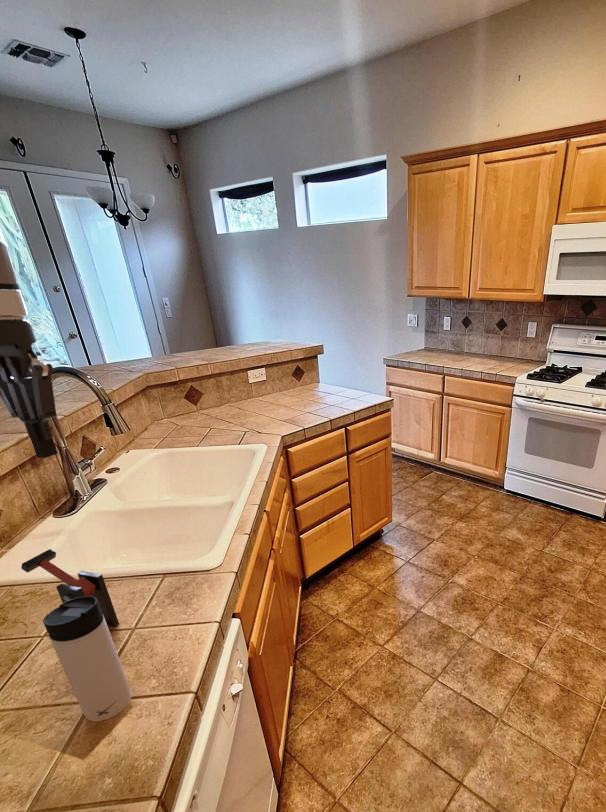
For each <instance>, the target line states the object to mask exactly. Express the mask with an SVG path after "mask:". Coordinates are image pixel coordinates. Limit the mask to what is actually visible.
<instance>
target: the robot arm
mask: <svg viewBox="0 0 606 812" xmlns="http://www.w3.org/2000/svg"><path fill="white" fill-rule="evenodd" d="M8 247H9V245H8V243H7V242H6V241H5V237H4V235H3V233H2V230H1V229H0V398H1V400H2V401H3V403H4V405H5V407H6V410H7V411H8V413H9V414H10V416H11V417H12V418H18V419H19V420H20V422H22V423H23V424H24V427H25V431H26V433H27V436H28V437H29V439H30V442H31V444H32V447H33V450H34V453H35V455H36V458H38V459H39V458H40V459H45V458H49V457H52V456H56V455H58V454H59V453H58V450H57V447H56V444H55V441H54V435H53V432H52V429H51V426H50V423H49V421H50V420H51V419H54V418H56V417H57V410H56V401H55V394H54V388H53V380H52V374H53V370H54V367H53V365H52V363H44V362H43V361H41V360H40V359H39V358H38V355H37V353H36V352H35V350H34V348H33V344H36V342H37V337H36V334H35V331H34V328H33V325H32V322H31V321H29V320H28V319H25V317H27V316H28V315H29V313H28V310H27V307H26V304H25V302H24V298H23V295H22V292H21V288H20V285H19V282H18V279H17V276H16V272H15V268H14V265H13V262H12V259H11V256H10V252H9V249H8Z"/></svg>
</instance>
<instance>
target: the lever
mask: <svg viewBox="0 0 606 812" xmlns="http://www.w3.org/2000/svg"><path fill="white" fill-rule="evenodd" d="M56 556H57V552H56V551H55V550H53V549H51V548H49V549H46V550H45V551H43V552H41V553H38V555H35V556H34V557H32V558H30V559H28V560H26V561H24V562H22V563H21V568H20V569H21V570H22V571H24V572H26V573H30V572H31V571H34V570H36V569H38V568H39V567H40V568H41V569H43V570H44V571H46V572H48V573H49V574H50V575H52V576H54V577H55V578H57V579H58V580H60V581H61V582H63V584H65V585H70V586H75V587H80V588H82V590H83V593H84V596H91V595H92V594H94V590H95V586H96V585H94V584H93V583H91V582H90V581H88V580H87V579H85V578H84V577H81V578H80V579H79V578H78V579H76V577H74V576H72V575H71V574H69V573H67V572H66V571H65V570H63V569H62V568H60V567H58V566H57V565H55V564H53V563H52V562H51V560H54V559H55V558H56Z"/></svg>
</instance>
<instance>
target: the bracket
mask: <svg viewBox="0 0 606 812" xmlns="http://www.w3.org/2000/svg"><path fill="white" fill-rule="evenodd" d="M77 576H78V579H80V578H81V577H84V578H85V579H87V580H88V581H90V582H91V583H93V584H94V585H96V586H95V590H94V594H92V595H91V596H93V597H95V598H97V600H98V603H99V606H100V609H101V611H102V614H103V615H104V618H105V621H106V624H107V626H108V627H111V628H116V627H118V626H120V621H119V619H118V616H117V613H116V610H115V607H114V605H113V602H112V599H111V597H110V594H109V591H108V588H107V584H106V581H105V579H104V576H103V574H101V573H97V572H93V571H92V572H91V571H87V570H80V571H79V572H77ZM55 588H56V591H57V592H58V596H59V598H60V600H61V602H62V603H64V602H66V601H69V600H71V599H74V598H78V597H82V596H84V593H83V590H82V588H80V587H75V586H70V585H68V584H66V583H60V584H57V586H56V587H55Z"/></svg>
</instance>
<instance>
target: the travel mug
mask: <svg viewBox="0 0 606 812" xmlns="http://www.w3.org/2000/svg"><path fill="white" fill-rule="evenodd" d="M42 623H43V625H44V628H45V630H46V632H47V634H48V637H49V640H50V641H51V642H50V643H51V645H52V647H53V649H54V651H55V654H56V655H57V656H56V657H57V658H58V660H59V663H60V665H61V667H62V669H63V670H64V674H65V675H66V679H67V680H68V682H69V683H68V684H69V685H70V687H71V689H72V692H73V693H74V696H75V698H76V700H77V702H78V705H79V707H80V709H81V712H82V714H83V716H84V718H85V719H86V720H88V721H90V722H100V721H105V720H107V719H110V718H112V717H114V716H116V715H118V714H119V713H120V712H122V711H123V710H124V709H125V708H127V706H128V705H129V703H130V702H131V700H132V697H133V692H132V689H131V687H130V684H129V682H128V679H127V676H126V673H125V670H124V668H123V665H122V662H121V660H120V657H119V654H118V651H117V648H116V646H115V643H114V641H113V637H112V634H111V632H110V630H109V626H107V624H106V621H105V618H104V615H103V614H102V611H101V609H100V606H99V603H98V600H97V598H95V597H93V596H82V597H78V598H74V599H71V600H69V601H66V602H64V603H63V602H62V603H61V604H59V605H58V607H56V608H54V609H53V610H52V611H50V612H49V613H46V615H45V616H44V617H43V619H42Z"/></svg>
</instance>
